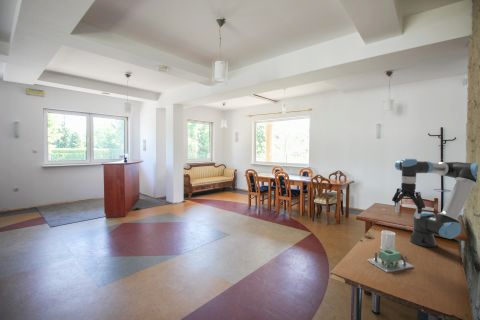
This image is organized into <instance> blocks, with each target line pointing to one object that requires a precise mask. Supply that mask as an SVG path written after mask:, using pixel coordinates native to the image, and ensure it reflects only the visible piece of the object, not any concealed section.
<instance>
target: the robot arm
mask: <svg viewBox="0 0 480 320" xmlns="http://www.w3.org/2000/svg"><path fill="white" fill-rule="evenodd" d="M394 163H395V164H394V167H395V170H398V171H400V172H401V184H400V185H401V186H400V187H401V188H396V192H395V194H393V195H394V196H393V197H392V199H391V200H392V202H393V203H394V209H395V213H400V208H401V207H400V206H401V205H400V204H401V203H400V201H402V199H403V198H404V197H405V198H410V199H411V201H412V202H413V203H414V204H415V206H416V208H415V212H414V214H413V228H412V229H413V231H412V233H411V235H410V236H409V241H410V242H411V243H412V244H414V245H417V246H419V247H420V246H421V247H425V248H435V247H436V246H437V241H436V238H435V236H434V235H436V236H440V237H442V238H446V239H451V240H452V239H454V238H457V237H458V236H459V235H460V234H461V231H462V225H461V224H460V219H459V217H460V214H461V213H462V210H463V208H464V206H465V204H466V202H467V200H468V198H469V196H470V193H471V192H472V189H473V188H474V187H476V186H477V185H476V180H477V172H478V164H479V163H477V162H476V163H475V162H460V161H450V162H444V161H440V162H431V161H419V160H417V159H416V158H403V159H398V160H396V161H395V162H394ZM417 174H437V175H438V176H444V177H448V178H453V179H454V180H455V184H454V186H453V188H452V190H451V192H450V194H449V195H448V198H447V201H446V202H445V205H444V206H443V209H442V211H441V212H437V214H435V213H434V212H432V211H431V212H430V211H423V209H425V208H426V205H425V202H424V200H423V198H422V196H421V195H422V194H421V191H416V185H417V184H416V183H417Z"/></svg>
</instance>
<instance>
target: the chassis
mask: <svg viewBox="0 0 480 320" xmlns="http://www.w3.org/2000/svg"><path fill="white" fill-rule="evenodd" d="M368 261H369V262H368ZM366 262H368V263H370V264H372V265H373V264H374V266H375V267H377V268H379V270H382V271H384V272H386V273H387V274H388V273H392V272H398V271H404V270H407V269H413V268H414V267H415V265H413V264H410V263H409V262H407V256H406V255H403V256H402V259H401V260H400V261H395V262H390V259H388V258H387V262H385V261H383V260H382V259H380V258H379V256H378V252H377V251H374V257H372V258H368V259H366Z"/></svg>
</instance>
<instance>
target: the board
mask: <svg viewBox="0 0 480 320" xmlns="http://www.w3.org/2000/svg"><path fill="white" fill-rule="evenodd" d="M378 251H379V252H378V254H379V255H378V257H379V258H380V259H382V260H383V261H385V262H387V258H388V259H390V262H395V261H400V260H402V252H399V251H397V250H396V249H395V250H393V249H388V250H382V249H381V250H378Z"/></svg>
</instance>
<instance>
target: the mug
mask: <svg viewBox="0 0 480 320" xmlns="http://www.w3.org/2000/svg"><path fill="white" fill-rule="evenodd" d="M380 237H381V238H380V247H379V248H380V250H381V251H382V250H388V249H393V250H395V251H396V249H395V248H396V233H395V232H394V231H391V230H386V229H385V230H382V231H381V236H380Z"/></svg>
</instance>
